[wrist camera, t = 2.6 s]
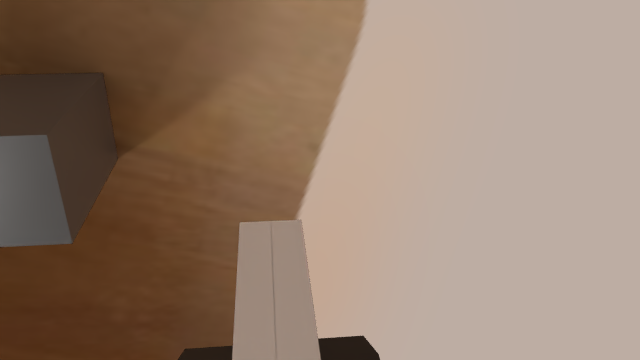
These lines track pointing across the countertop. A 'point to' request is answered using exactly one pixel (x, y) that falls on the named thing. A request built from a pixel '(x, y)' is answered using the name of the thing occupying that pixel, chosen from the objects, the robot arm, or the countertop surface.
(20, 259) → the countertop surface
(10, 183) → the grey rectangular block
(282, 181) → the countertop surface
